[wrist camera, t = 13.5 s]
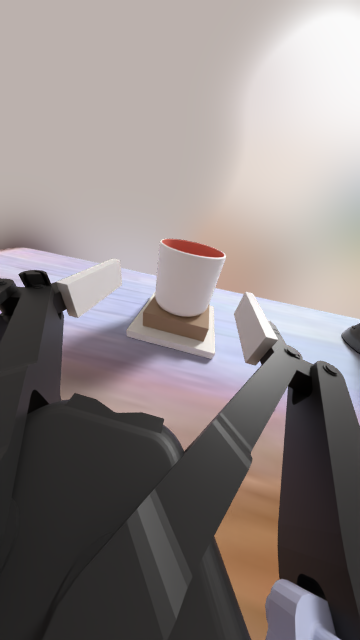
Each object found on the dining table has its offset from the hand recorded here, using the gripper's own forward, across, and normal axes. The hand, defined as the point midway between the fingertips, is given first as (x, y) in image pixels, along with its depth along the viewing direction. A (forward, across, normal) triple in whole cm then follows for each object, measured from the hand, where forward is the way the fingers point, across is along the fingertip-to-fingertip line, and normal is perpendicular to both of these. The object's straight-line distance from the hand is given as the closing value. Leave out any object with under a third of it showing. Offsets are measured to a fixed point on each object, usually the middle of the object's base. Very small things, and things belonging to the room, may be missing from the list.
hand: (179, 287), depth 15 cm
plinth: (+10, 0, -12) cm, 15 cm away
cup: (+10, 0, -8) cm, 12 cm away
